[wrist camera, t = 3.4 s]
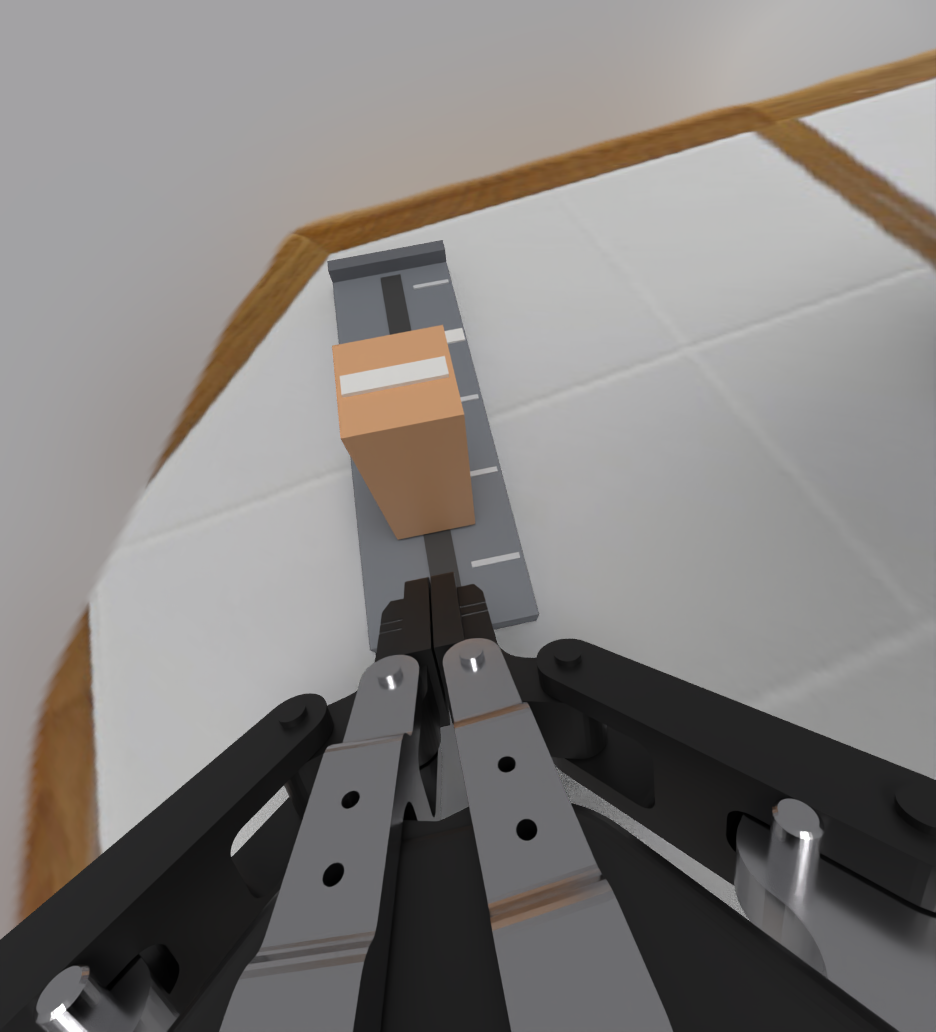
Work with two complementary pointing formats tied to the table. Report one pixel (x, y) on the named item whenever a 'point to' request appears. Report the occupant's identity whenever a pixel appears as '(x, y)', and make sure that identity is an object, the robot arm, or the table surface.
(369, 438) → the fader tab
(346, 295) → the fader rail
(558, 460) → the table surface
